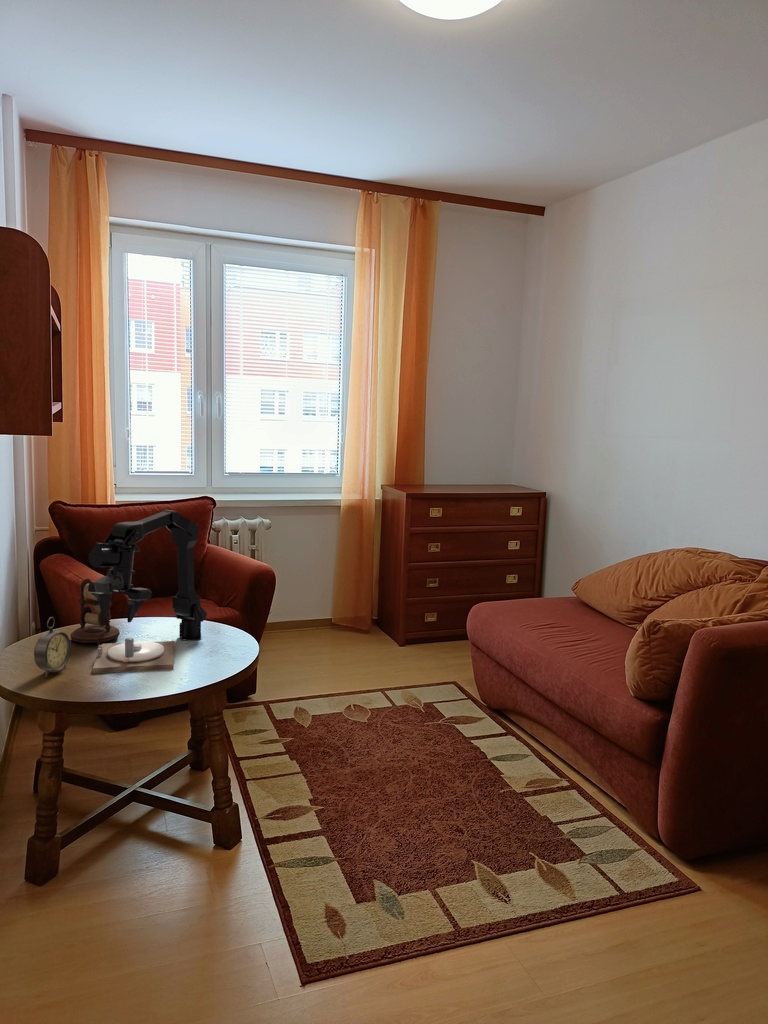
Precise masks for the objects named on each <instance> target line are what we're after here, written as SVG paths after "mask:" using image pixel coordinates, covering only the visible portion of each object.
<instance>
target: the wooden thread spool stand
mask: <svg viewBox="0 0 768 1024" xmlns="http://www.w3.org/2000/svg"><path fill="white" fill-rule="evenodd" d="M91 582H92V580H91V579H90V578H84V579H83V580H82V582H80V584H79V586H78V588H79V593H80V594H79V599H78V603H79V606H80V608H79V611H80V612H79V614H78V615H79V620H80V623H79V625H80V626H79V627H78V628H75V630H73V631H71V633H70V641H71V642H72V643H75V642H78V643H86V644H87V643H89V644H91V643H96V646H97V647H99V645H101V643H102V642H109V641H111V640H114V639H117V638H119V636H120V629H119V628H118V627H115V626H114V625H111V624H110V623H111V619H112V616H111V610H110V608H111V607H112V602H111V601H110V605H109V609H108V613H107V615H106V617H105V618H103V617H102V614H101V610H100V606H99V603H98V600H97V598H96V597H95V596H94V595H92V594H91V593H93V592H89V591H88V585H89V584H90V583H91ZM85 605H91V606H92V608H91V607H90V606H85ZM86 624H88V625H86Z"/></svg>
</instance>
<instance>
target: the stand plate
mask: <svg viewBox="0 0 768 1024" xmlns="http://www.w3.org/2000/svg"><path fill="white" fill-rule="evenodd" d="M154 642H155V643H159V644H161V645H163V647H164V653H163V654H162V655H161V656H159V657H157V658H154V659H150V660H146V661H138V662H123V661H117V660H113V659H111V658H110V657H109V656H108V650H109V649H110V648H111V647H113V646H115V645H118V644H122V643H123V642H113V643H112V642H111V643H110V642H109V643H102V644H100V645H99V646H98V647H97V649H96V650H97V656H96V658H95V661H94V664H93V666H92V674H103V673H125V672H129V673H130V672H144V671H146V672H147V671H163V670H164V671H166V670H167V671H168V670H174V667H175V666H174V664H175V653H174V652H175V651H176V649H175V648H176V640H167V641H166V640H165V641H163V640H161V641H154Z"/></svg>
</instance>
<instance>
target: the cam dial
mask: <svg viewBox="0 0 768 1024" xmlns="http://www.w3.org/2000/svg"><path fill="white" fill-rule="evenodd" d="M155 642H156V641H144V640H143V641H142V640H141V641H139V640H137V641H135V639H134V637H126V638H124V642H121V643H122V644H118V645H115V646H113V647H111V648H110V649H109V650H108V656H109V657H110V658H111V659H113V660H117V661H123V662H138V661H146V660H150V659H154V658H157V657H159V656H161V655H162V654H163V653H164V647H163V645H161V644H159V643H155Z"/></svg>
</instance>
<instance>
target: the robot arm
mask: <svg viewBox="0 0 768 1024" xmlns="http://www.w3.org/2000/svg"><path fill="white" fill-rule="evenodd" d="M164 527H165V528H166V529H167V530H168V531H170V533H171V540H172V542H173V543H174V545H175V546H176V549H177V551H176V552H177V573H178V574H177V576H178V577H177V578H178V591H177V593H176V595H175V596H172V598H171V599H172V600H171V601H172V608H171V609H173V612H174V614H175V617H176V619H178V620H180V621H181V622H179V637H180V640H181V639H195V640H202V622H204V620H207V615H208V613H207V612H206V610H204V608H203V607H202V606H201V600H200V597H199V595H198V594H197V592H196V590H195V561H194V547H195V546H196V543H197V541H198V540H199V532H200V531H199V525H198V524H197V522H195V521H192V520H190V519H189V518H187V517H185V516H184V515H182V514H180V513H179V512H178V511H176V510H169V509H164V510H162V511H161V512H158V513H155V514H153V515H149V516H147V517H145V518H142V519H139V520H136V521H122V522H116V523H115V524H114V525H113V527H112V529H111V530H110V532H109V533H108V535H107V536H106V537H105V539H104V541H103V542H96V543H95V546H94V547H93V548H91V550H90V552H89V554H88V562H89V564H90V566H92V567H93V568H108V570H107V573H106V575H104V576H101V577H100V578H97V579H96V580H95V581H94V580H93V581H91V583H90V584H89V585H88V591H89V592H93V593H91V594H92V595H94V596H95V597H96V598H97V600H98V603H99V606H100V610H101V614H102V617H103V618H105V617H106V615H107V613H108V609H109V610H110V608H109V605H110V602H111V599H112V596H113V593H114V594H120V595H125V596H127V599H126V602H127V619H126V621H127V623H131V622H132V621H133V620H134V618H135V616H136V614H137V613H138V611H139V610H140V608H141V607H142V605H144V602H148V600H151V599H152V594H153V593H152V591H151V589H149V588H144V587H134V586H135V584H134V583H133V584H132V576H133V575H136V570H133V567H134V557H135V553H136V552H137V553H138V552H140V551H141V549H140V548H139V546H138V545H137V543H139V542H140V541H142V540H143V539H144V537H145V536H146V535H148V534H149V533H153V532H155V531H157V530H160V529H162V528H164Z"/></svg>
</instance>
